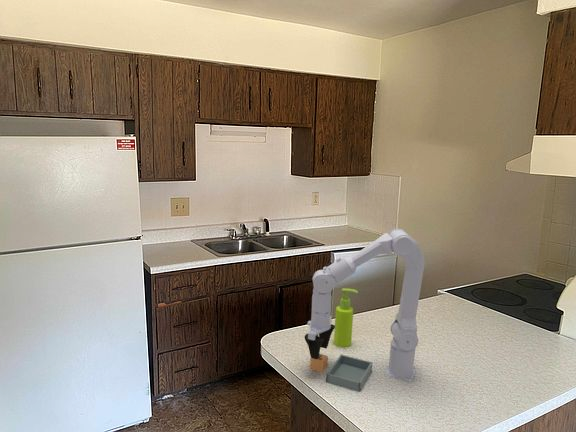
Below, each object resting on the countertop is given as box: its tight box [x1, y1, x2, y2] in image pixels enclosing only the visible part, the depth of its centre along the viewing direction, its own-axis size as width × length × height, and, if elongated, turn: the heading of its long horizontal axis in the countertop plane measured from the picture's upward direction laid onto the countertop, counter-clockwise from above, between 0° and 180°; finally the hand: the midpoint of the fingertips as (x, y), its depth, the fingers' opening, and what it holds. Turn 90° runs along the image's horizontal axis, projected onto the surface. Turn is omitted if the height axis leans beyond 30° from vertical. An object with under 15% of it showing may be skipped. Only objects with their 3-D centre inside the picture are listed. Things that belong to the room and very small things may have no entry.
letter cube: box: [309, 353, 329, 373], centre depth 131 cm, size 4×4×4 cm
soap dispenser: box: [333, 287, 359, 349], centre depth 146 cm, size 6×7×20 cm
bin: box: [325, 354, 373, 392], centre depth 127 cm, size 13×10×3 cm
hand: (319, 352), depth 131 cm, fingers open, 7 cm apart
